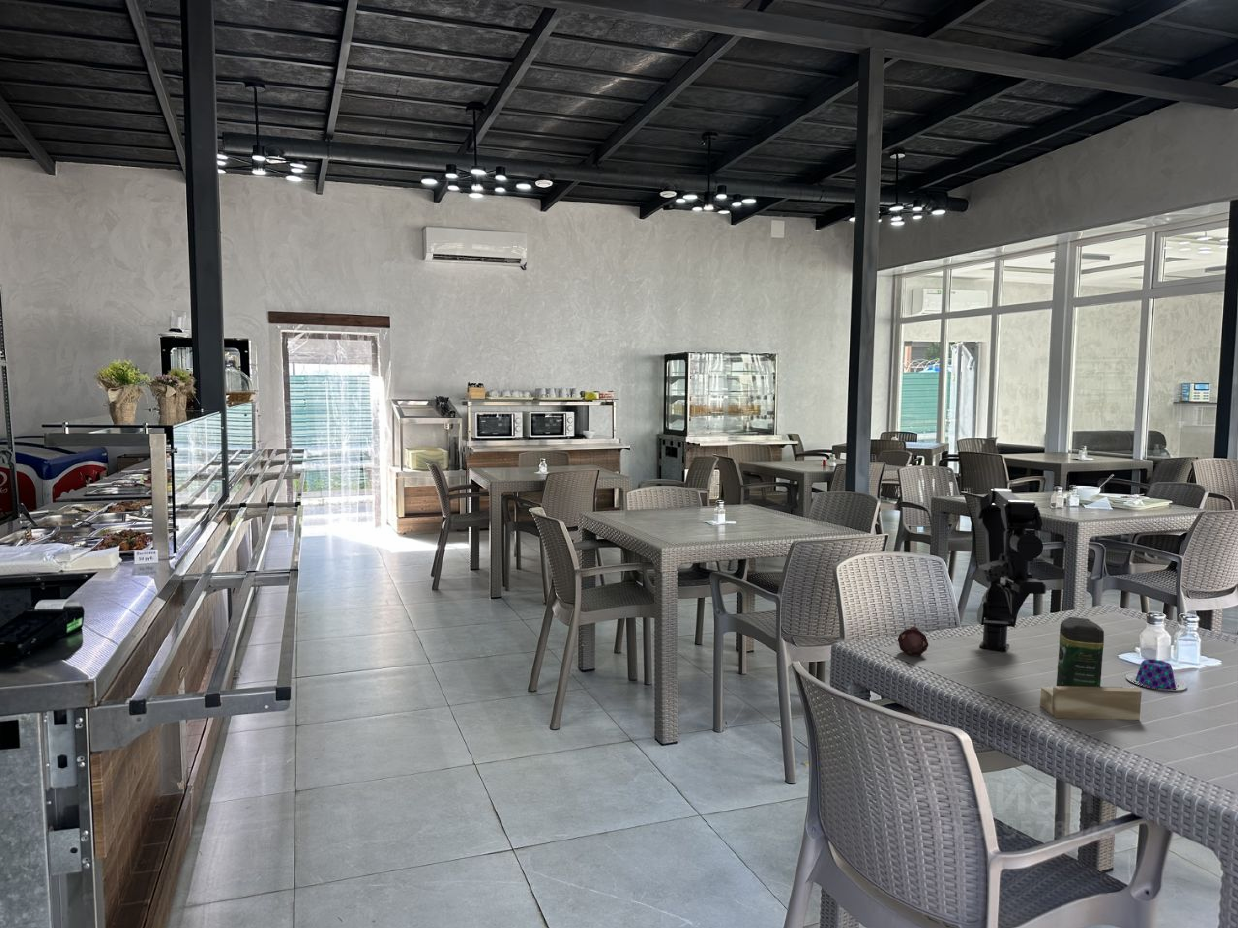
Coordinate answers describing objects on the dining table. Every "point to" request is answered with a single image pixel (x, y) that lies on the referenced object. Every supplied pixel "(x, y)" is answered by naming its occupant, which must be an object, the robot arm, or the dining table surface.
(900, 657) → the dining table surface
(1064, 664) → the coffee jar
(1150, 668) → the purple patterned hat
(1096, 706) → the block
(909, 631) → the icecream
